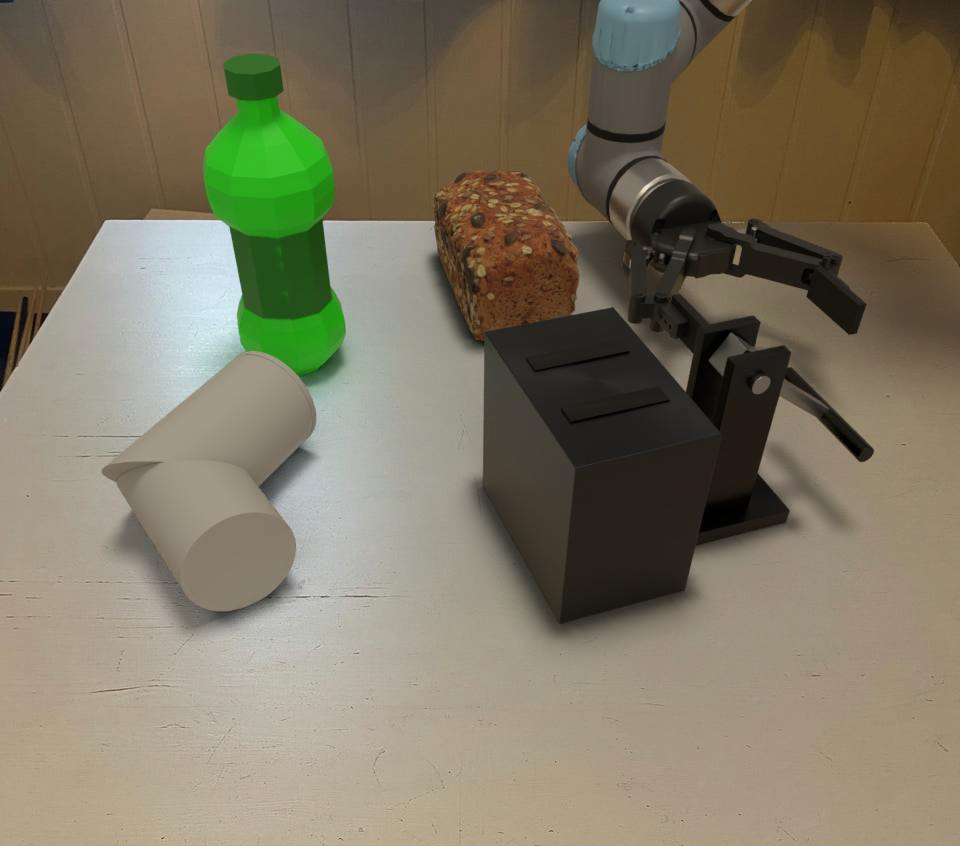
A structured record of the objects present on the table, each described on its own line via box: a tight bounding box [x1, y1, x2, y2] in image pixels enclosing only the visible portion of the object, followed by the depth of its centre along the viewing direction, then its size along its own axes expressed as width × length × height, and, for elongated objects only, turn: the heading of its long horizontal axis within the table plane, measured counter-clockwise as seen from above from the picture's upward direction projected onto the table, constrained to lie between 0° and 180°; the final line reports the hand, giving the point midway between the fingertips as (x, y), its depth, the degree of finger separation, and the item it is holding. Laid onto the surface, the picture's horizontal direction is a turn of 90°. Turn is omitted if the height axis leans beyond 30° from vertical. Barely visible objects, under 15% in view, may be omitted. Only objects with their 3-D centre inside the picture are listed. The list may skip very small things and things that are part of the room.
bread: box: [432, 169, 580, 342], centre depth 95 cm, size 19×11×10 cm, turn 12°
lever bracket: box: [685, 314, 792, 546], centre depth 72 cm, size 10×8×15 cm
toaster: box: [482, 306, 722, 624], centre depth 70 cm, size 10×16×14 cm, turn 20°
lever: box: [708, 333, 875, 463], centre depth 71 cm, size 13×11×2 cm
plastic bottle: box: [202, 53, 347, 377], centre depth 81 cm, size 10×10×25 cm
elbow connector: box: [100, 351, 317, 612], centre depth 74 cm, size 18×11×20 cm
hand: (786, 335), depth 79 cm, fingers open, 13 cm apart
